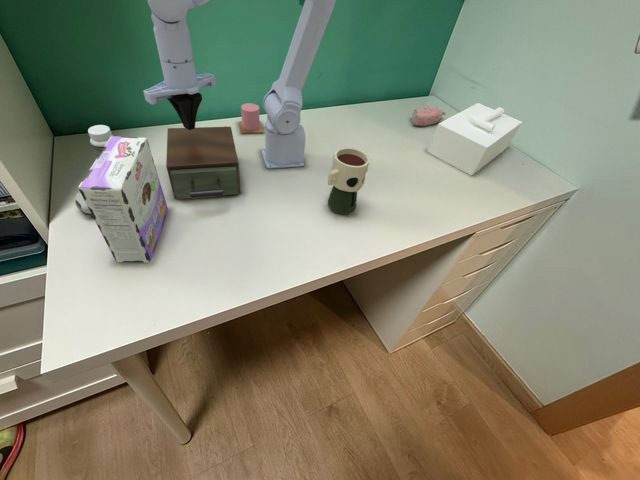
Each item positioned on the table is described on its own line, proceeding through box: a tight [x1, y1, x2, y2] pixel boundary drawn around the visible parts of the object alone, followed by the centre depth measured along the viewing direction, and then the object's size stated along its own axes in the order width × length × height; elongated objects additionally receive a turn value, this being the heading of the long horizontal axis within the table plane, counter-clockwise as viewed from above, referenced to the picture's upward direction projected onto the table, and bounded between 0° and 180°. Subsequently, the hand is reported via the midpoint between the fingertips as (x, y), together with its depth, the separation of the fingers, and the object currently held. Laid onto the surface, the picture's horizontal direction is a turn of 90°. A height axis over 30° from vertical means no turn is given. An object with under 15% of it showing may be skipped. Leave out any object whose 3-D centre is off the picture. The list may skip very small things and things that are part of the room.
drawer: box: [171, 166, 239, 200], centre depth 70 cm, size 18×12×6 cm
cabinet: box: [165, 126, 242, 200], centre depth 72 cm, size 15×14×8 cm
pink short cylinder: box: [240, 102, 260, 130], centre depth 90 cm, size 5×5×6 cm
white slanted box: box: [426, 102, 523, 177], centre depth 95 cm, size 14×25×11 cm, turn 135°
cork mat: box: [238, 120, 264, 135], centre depth 92 cm, size 6×6×1 cm
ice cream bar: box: [411, 106, 446, 127], centre depth 107 cm, size 6×4×15 cm
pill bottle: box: [87, 124, 114, 158], centre depth 71 cm, size 5×5×8 cm
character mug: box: [327, 146, 371, 215], centre depth 69 cm, size 11×7×13 cm, turn 130°
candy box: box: [77, 135, 169, 264], centre depth 55 cm, size 14×6×16 cm, turn 5°
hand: (189, 127), depth 69 cm, fingers closed
